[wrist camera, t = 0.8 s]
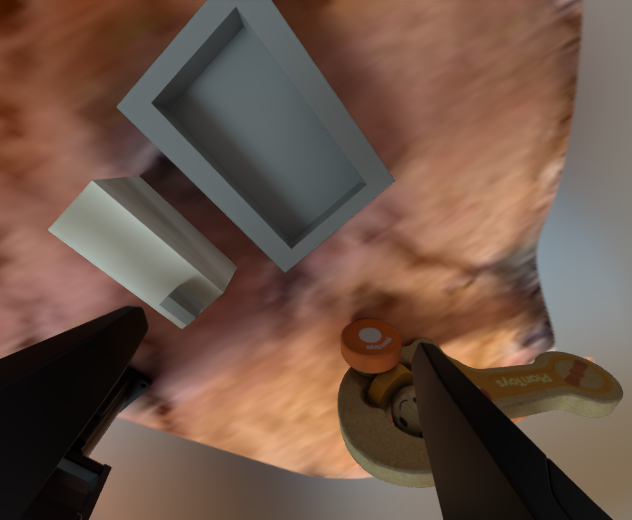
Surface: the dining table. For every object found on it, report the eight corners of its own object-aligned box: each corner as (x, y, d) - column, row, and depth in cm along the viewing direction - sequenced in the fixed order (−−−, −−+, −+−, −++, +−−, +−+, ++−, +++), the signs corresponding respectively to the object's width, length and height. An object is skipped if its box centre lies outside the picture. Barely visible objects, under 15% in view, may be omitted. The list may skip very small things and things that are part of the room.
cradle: (286, 258, 20) (285, 273, 18) (145, 115, 16) (116, 106, 13) (381, 178, 19) (395, 180, 16) (251, -5, 14) (242, -42, 12)
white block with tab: (203, 295, 21) (172, 343, 16) (104, 214, 18) (22, 237, 13) (237, 265, 20) (217, 304, 15) (140, 175, 17) (70, 182, 12)
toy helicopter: (324, 322, 23) (363, 527, 10) (545, 293, 24) (840, 448, 11) (331, 389, 26) (367, 613, 13) (527, 361, 27) (741, 545, 14)
